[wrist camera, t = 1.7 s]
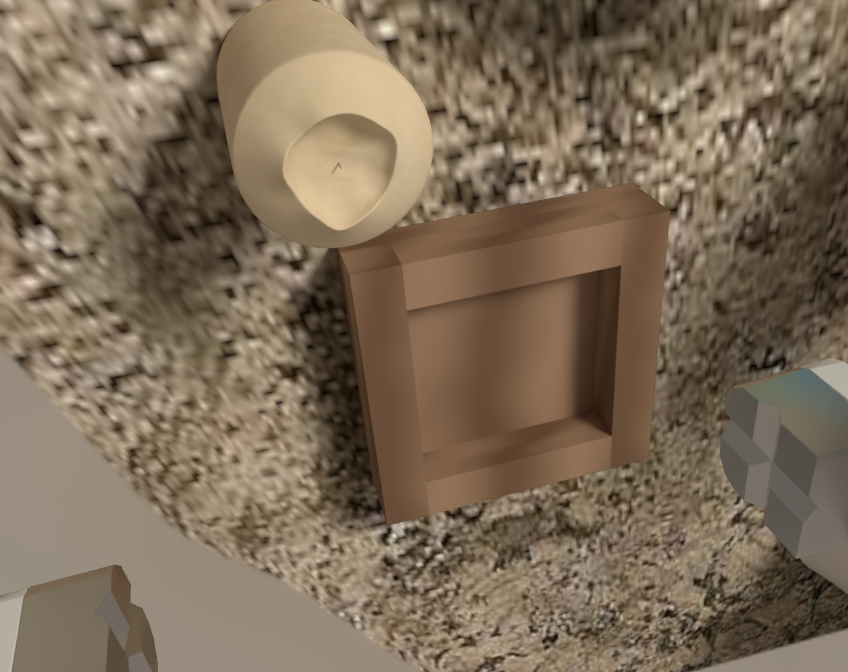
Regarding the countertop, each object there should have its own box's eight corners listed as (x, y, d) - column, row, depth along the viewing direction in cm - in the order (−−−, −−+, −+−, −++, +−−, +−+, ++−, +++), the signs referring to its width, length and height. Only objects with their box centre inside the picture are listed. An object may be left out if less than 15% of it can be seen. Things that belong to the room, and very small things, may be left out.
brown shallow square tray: (632, 182, 35) (670, 211, 32) (618, 419, 42) (648, 458, 39) (334, 239, 33) (349, 275, 30) (372, 479, 40) (387, 525, 37)
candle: (354, 163, 31) (421, 280, 23) (207, 141, 29) (222, 260, 21) (384, 13, 29) (472, 85, 20) (225, -21, 27) (250, 43, 19)
